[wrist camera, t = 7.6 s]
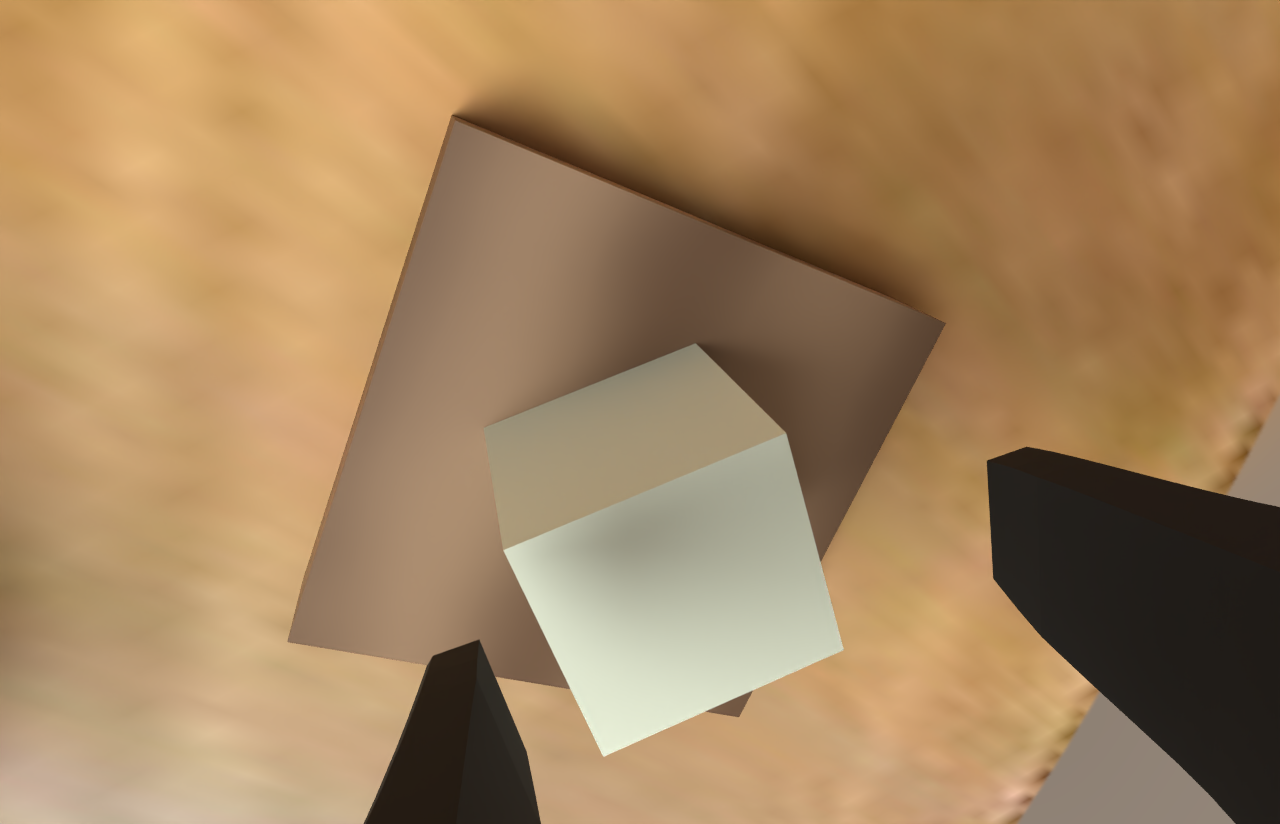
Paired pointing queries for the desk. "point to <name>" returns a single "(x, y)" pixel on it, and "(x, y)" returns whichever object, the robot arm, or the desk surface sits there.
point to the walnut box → (568, 385)
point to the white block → (661, 544)
